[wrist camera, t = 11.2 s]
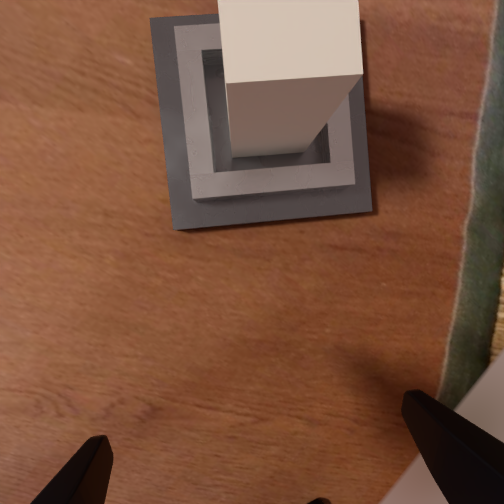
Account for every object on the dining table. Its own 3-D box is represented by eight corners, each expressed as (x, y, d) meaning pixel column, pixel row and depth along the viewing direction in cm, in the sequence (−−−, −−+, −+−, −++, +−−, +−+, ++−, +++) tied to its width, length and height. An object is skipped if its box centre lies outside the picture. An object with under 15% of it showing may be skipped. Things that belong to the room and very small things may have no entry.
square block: (304, 152, 19) (363, 73, 10) (232, 157, 19) (225, 83, 10) (298, 78, 19) (353, -72, 10) (225, 82, 18) (212, -66, 9)
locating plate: (365, 212, 20) (383, 208, 18) (176, 230, 20) (167, 229, 17) (351, 17, 20) (367, -16, 17) (154, 29, 19) (141, -2, 17)
